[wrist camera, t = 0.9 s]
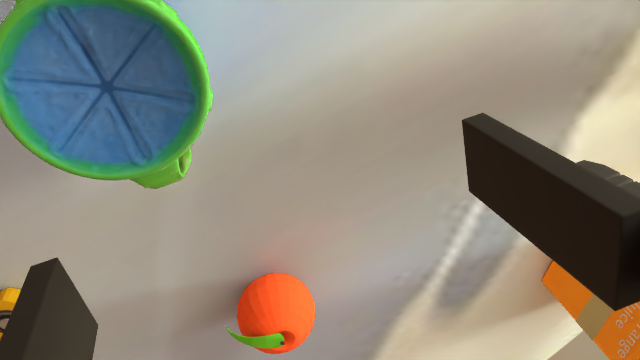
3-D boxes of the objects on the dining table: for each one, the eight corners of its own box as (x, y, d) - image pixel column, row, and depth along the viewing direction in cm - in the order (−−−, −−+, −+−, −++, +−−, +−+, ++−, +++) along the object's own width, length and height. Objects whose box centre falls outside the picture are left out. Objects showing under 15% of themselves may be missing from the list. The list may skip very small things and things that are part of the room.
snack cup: (234, 122, 39) (245, 190, 30) (97, 158, 38) (69, 239, 29) (163, -108, 30) (151, -104, 22) (-15, -68, 30) (-100, -48, 21)
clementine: (223, 318, 48) (227, 379, 42) (221, 261, 45) (225, 319, 39) (305, 309, 50) (320, 367, 44) (309, 254, 47) (326, 308, 41)
